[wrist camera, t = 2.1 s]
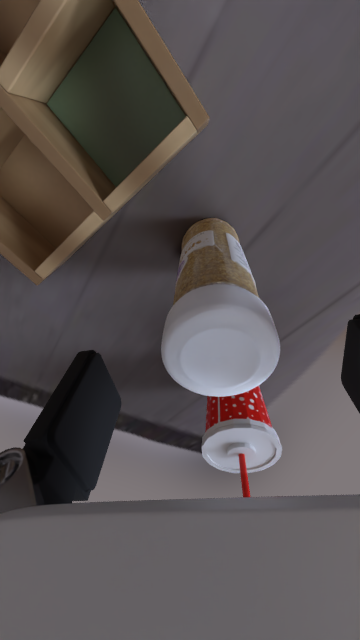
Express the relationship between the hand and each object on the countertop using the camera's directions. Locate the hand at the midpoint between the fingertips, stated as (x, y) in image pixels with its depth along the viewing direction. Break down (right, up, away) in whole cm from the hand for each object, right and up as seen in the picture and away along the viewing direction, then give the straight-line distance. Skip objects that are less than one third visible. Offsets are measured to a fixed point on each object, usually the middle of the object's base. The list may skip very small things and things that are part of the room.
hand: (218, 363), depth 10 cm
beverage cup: (+4, -3, +18) cm, 19 cm away
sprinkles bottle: (+1, +8, +11) cm, 13 cm away
